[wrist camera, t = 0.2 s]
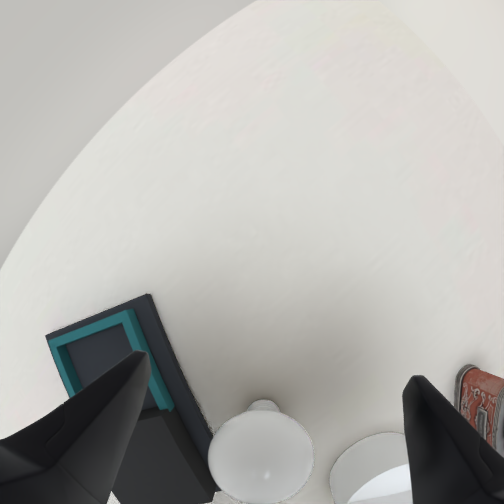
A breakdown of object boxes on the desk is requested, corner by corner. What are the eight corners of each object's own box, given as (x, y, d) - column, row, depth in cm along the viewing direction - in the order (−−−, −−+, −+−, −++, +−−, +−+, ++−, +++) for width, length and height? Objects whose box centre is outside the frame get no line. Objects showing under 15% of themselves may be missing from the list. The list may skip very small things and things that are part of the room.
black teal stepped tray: (238, 481, 23) (234, 506, 19) (132, 497, 23) (118, 518, 19) (150, 293, 25) (130, 295, 21) (50, 334, 25) (25, 339, 21)
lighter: (451, 372, 23) (518, 403, 13) (478, 358, 23) (546, 381, 13) (454, 439, 22) (508, 482, 12) (479, 425, 22) (535, 460, 12)
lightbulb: (249, 452, 23) (239, 535, 12) (210, 396, 24) (174, 464, 13) (315, 421, 23) (340, 497, 12) (278, 362, 24) (285, 418, 13)
